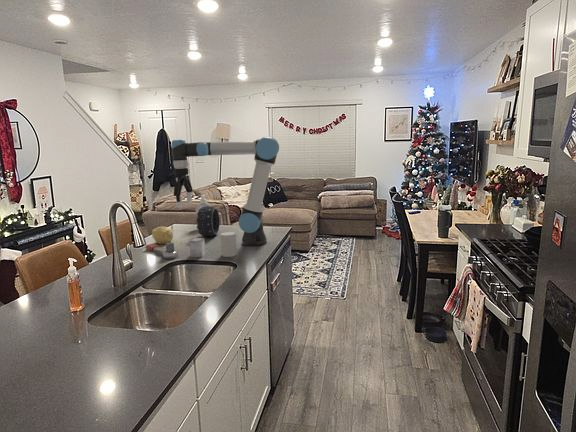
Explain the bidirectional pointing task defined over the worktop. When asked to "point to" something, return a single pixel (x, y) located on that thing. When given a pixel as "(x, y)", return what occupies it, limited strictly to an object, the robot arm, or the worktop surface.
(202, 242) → the frosted translucent cube
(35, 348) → the worktop surface
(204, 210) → the ring
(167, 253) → the ratchet
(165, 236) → the sculpture
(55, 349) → the worktop surface
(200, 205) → the soap bottle
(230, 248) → the cup
